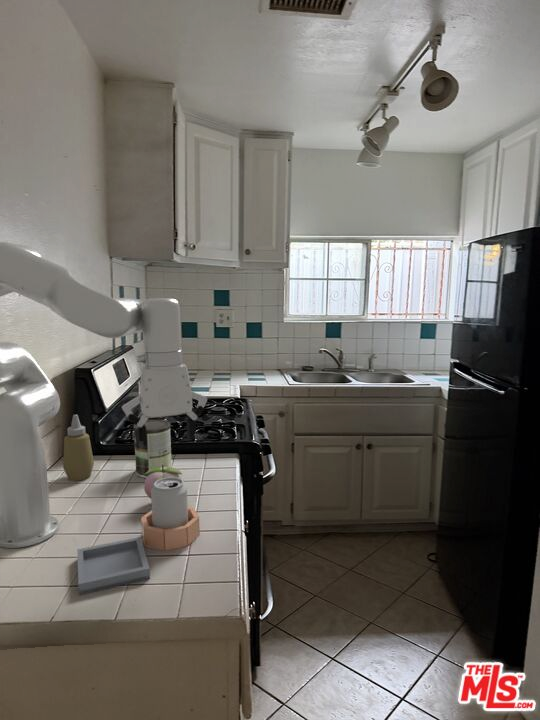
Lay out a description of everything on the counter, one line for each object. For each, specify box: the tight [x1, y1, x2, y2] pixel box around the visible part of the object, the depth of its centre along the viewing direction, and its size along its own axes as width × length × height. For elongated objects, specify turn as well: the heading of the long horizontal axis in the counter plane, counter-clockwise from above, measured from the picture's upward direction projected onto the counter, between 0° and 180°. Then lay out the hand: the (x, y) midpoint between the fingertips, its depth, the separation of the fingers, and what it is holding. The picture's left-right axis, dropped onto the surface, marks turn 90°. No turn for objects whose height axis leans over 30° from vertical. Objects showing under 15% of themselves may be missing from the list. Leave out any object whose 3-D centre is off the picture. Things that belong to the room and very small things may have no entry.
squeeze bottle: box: [62, 414, 95, 482], centre depth 132 cm, size 8×8×18 cm
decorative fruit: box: [143, 465, 183, 499], centre depth 116 cm, size 9×8×10 cm
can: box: [150, 477, 189, 529], centre depth 101 cm, size 8×8×12 cm
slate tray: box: [76, 536, 151, 596], centre depth 89 cm, size 12×12×2 cm
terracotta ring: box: [140, 506, 201, 552], centre depth 101 cm, size 12×12×4 cm
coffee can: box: [132, 419, 173, 479], centre depth 136 cm, size 10×10×14 cm
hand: (167, 440), depth 99 cm, fingers open, 9 cm apart
